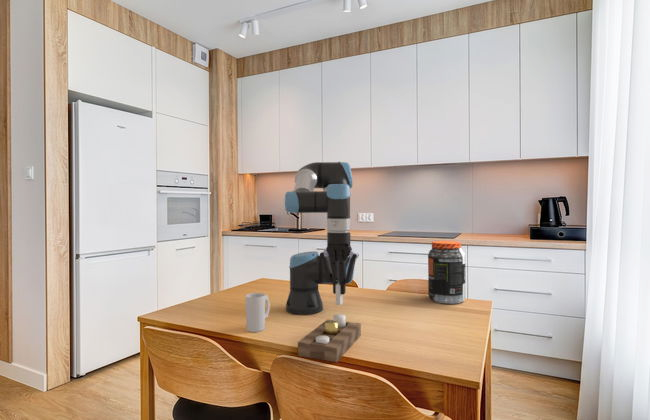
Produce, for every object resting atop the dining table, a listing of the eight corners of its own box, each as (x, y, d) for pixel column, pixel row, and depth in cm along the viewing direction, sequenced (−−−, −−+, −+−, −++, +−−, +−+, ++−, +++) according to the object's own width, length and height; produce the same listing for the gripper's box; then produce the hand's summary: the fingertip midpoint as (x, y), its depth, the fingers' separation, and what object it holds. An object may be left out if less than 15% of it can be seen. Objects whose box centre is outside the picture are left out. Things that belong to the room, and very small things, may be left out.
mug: (254, 334, 128) (254, 298, 128) (241, 330, 132) (241, 295, 132) (276, 326, 136) (275, 292, 136) (263, 322, 140) (262, 290, 140)
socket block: (336, 362, 105) (336, 347, 105) (298, 355, 110) (298, 341, 110) (360, 335, 126) (360, 323, 126) (327, 330, 130) (327, 319, 130)
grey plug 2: (331, 329, 123) (331, 317, 123) (336, 325, 127) (335, 313, 127) (343, 330, 122) (343, 318, 122) (347, 327, 125) (347, 315, 125)
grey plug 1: (313, 352, 110) (313, 339, 110) (319, 347, 114) (319, 334, 114) (326, 355, 109) (326, 341, 109) (331, 349, 113) (331, 336, 112)
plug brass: (323, 336, 117) (322, 323, 117) (328, 332, 120) (327, 319, 120) (335, 338, 115) (335, 325, 115) (339, 334, 119) (339, 321, 119)
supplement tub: (473, 301, 166) (473, 242, 166) (450, 307, 158) (450, 244, 157) (443, 293, 180) (443, 239, 179) (420, 299, 171) (420, 241, 170)
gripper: (315, 232, 122) (316, 304, 123) (354, 233, 117) (354, 309, 118) (324, 230, 129) (325, 299, 130) (361, 231, 124) (362, 303, 125)
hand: (339, 303), depth 124 cm, fingers closed
